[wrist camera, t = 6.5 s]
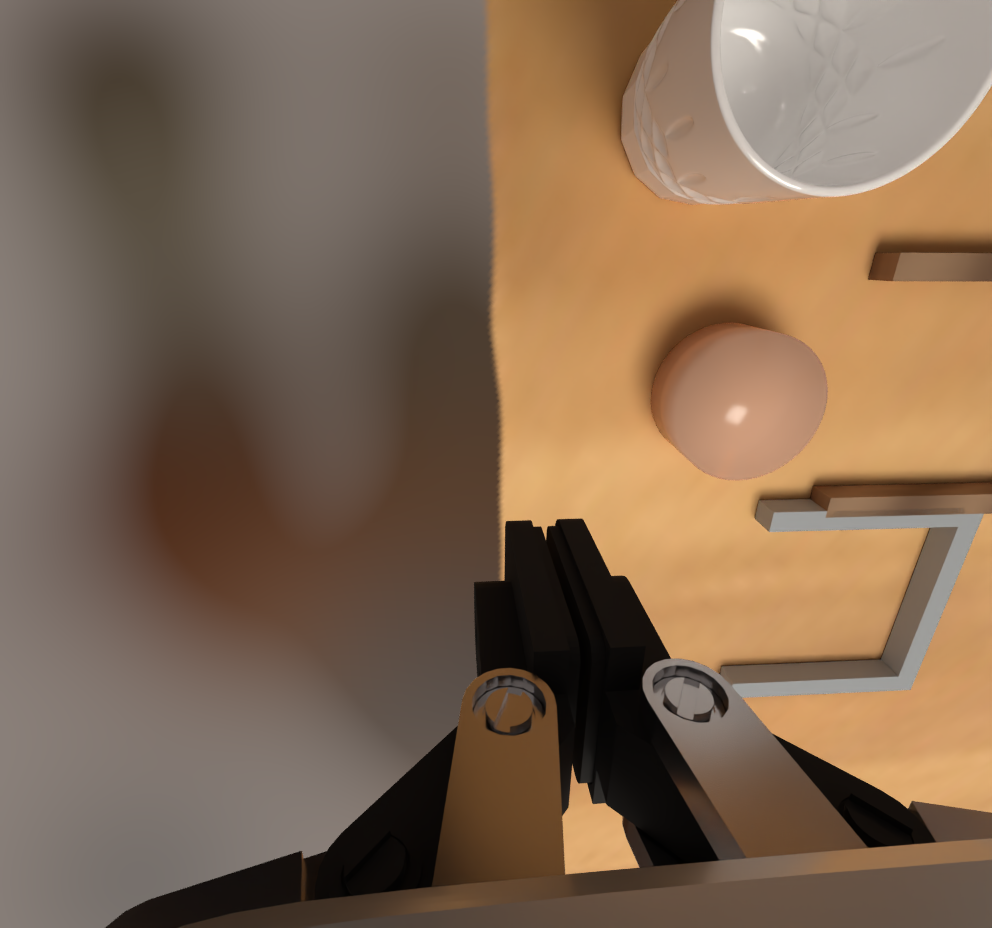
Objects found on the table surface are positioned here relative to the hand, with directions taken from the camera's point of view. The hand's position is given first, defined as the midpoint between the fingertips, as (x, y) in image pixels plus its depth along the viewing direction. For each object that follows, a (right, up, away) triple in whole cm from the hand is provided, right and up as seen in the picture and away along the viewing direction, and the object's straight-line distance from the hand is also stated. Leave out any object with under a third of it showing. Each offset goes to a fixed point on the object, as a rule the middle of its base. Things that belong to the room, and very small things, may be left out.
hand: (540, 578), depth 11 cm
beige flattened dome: (+11, +6, +15) cm, 20 cm away
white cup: (+8, +17, +11) cm, 22 cm away
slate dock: (+19, -6, +21) cm, 29 cm away
